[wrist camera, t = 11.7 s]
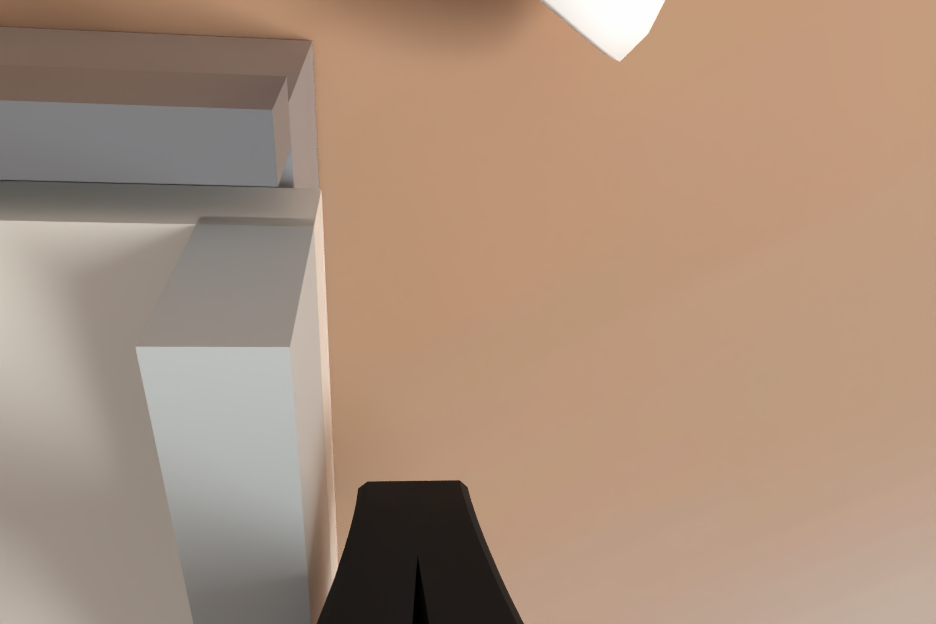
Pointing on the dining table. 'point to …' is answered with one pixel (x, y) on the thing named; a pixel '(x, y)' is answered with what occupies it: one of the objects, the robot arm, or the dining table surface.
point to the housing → (156, 109)
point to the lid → (164, 405)
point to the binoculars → (608, 21)
